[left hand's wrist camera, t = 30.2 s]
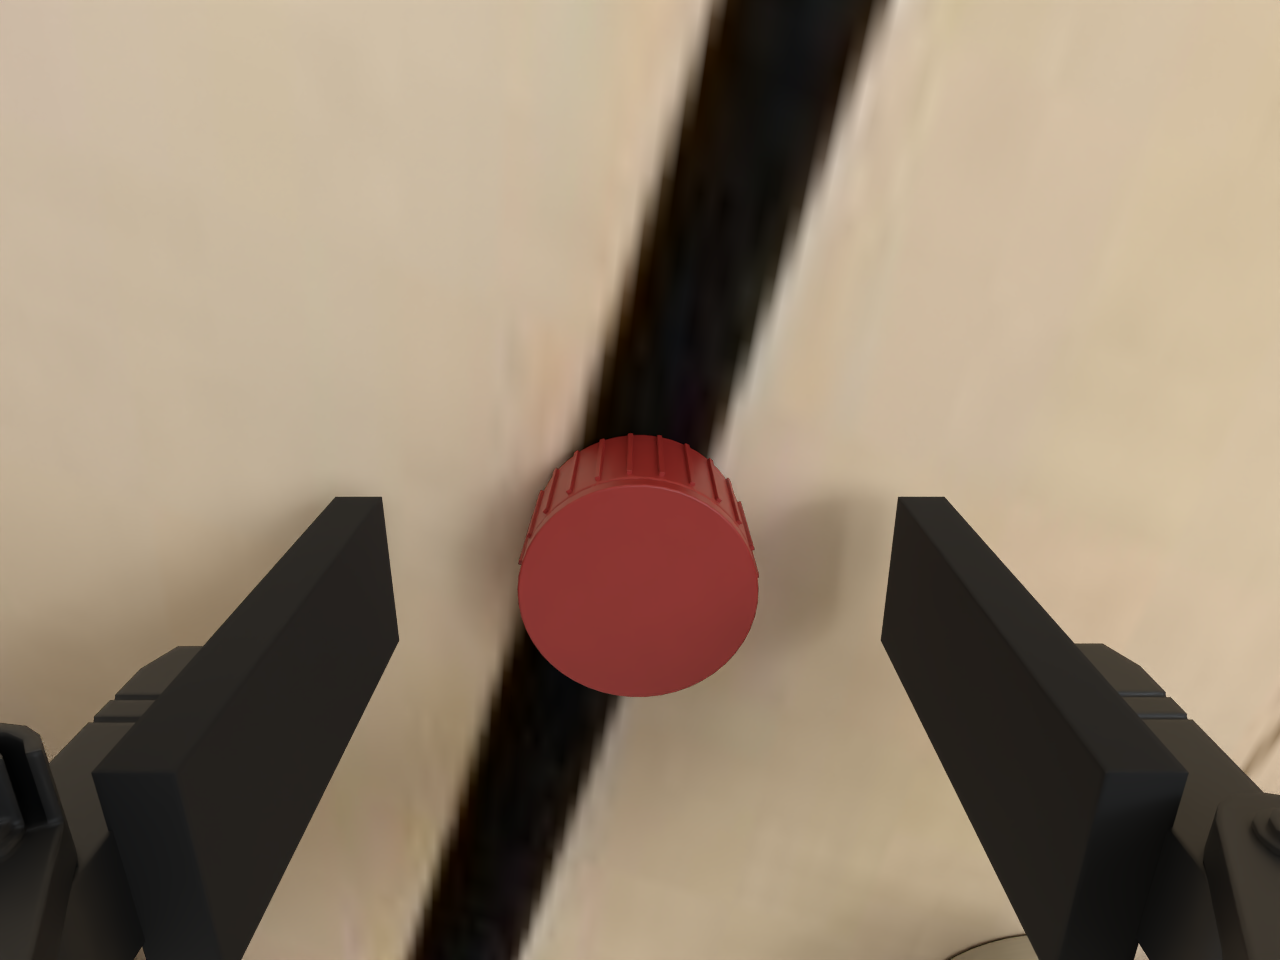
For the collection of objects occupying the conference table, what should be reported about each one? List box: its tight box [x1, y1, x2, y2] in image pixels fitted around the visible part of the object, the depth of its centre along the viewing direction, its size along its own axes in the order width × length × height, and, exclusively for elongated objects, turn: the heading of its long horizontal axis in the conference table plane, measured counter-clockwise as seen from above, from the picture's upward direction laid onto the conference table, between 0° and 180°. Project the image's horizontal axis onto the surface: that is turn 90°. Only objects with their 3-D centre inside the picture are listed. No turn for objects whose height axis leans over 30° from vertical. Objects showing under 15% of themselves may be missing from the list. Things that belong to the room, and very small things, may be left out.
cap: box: [518, 433, 759, 697], centre depth 15 cm, size 4×4×2 cm
